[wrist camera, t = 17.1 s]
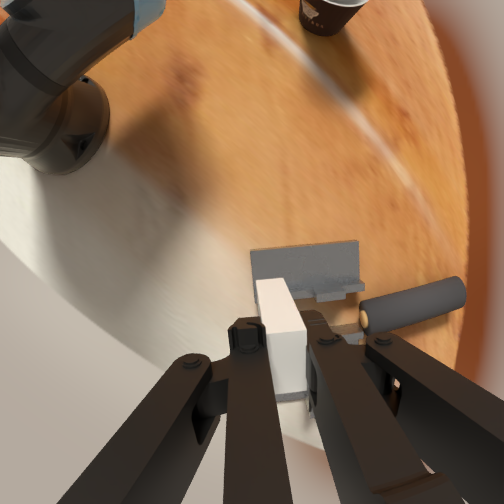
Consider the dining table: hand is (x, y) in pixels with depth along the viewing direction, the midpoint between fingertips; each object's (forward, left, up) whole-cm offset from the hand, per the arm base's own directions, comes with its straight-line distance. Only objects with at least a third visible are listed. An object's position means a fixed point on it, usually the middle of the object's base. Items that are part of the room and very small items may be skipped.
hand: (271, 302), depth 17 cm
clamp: (+6, -12, -23) cm, 27 cm away
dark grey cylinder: (+21, -9, -23) cm, 32 cm away
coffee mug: (+12, +33, -23) cm, 42 cm away
